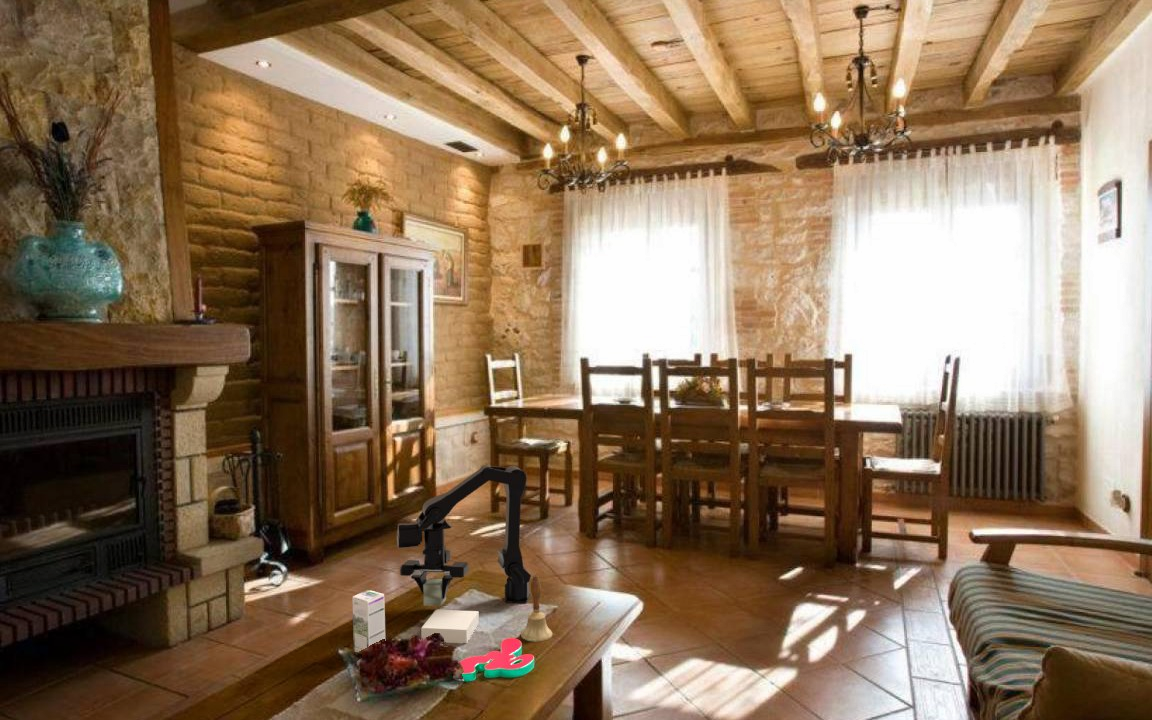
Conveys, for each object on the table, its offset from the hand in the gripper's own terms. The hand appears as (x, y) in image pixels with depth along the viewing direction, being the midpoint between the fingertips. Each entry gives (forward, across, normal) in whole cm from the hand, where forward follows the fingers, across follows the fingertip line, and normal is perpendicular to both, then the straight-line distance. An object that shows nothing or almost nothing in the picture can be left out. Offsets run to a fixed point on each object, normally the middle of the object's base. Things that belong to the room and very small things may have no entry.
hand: (434, 598), depth 199 cm
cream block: (+4, -9, +14) cm, 17 cm away
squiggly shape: (+4, -24, +31) cm, 39 cm away
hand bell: (+4, -32, +13) cm, 35 cm away
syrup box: (+4, +8, +27) cm, 28 cm away
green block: (+1, 0, 0) cm, 1 cm away
